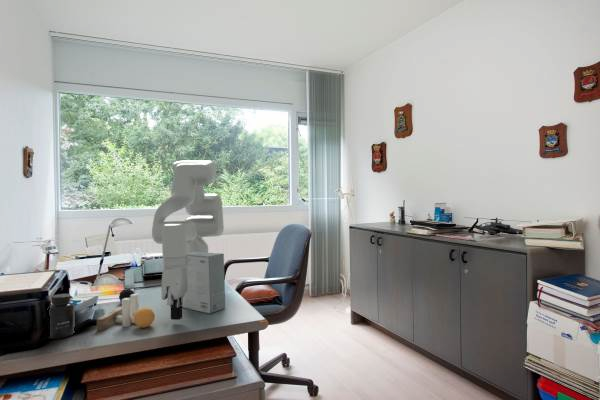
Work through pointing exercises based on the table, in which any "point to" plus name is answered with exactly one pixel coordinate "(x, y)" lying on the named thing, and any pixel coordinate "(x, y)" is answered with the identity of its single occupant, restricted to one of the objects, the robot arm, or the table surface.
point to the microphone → (125, 294)
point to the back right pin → (134, 304)
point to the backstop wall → (108, 319)
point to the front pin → (119, 319)
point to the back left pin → (126, 312)
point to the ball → (144, 317)
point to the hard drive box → (205, 282)
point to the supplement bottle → (61, 316)
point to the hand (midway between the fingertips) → (176, 318)
